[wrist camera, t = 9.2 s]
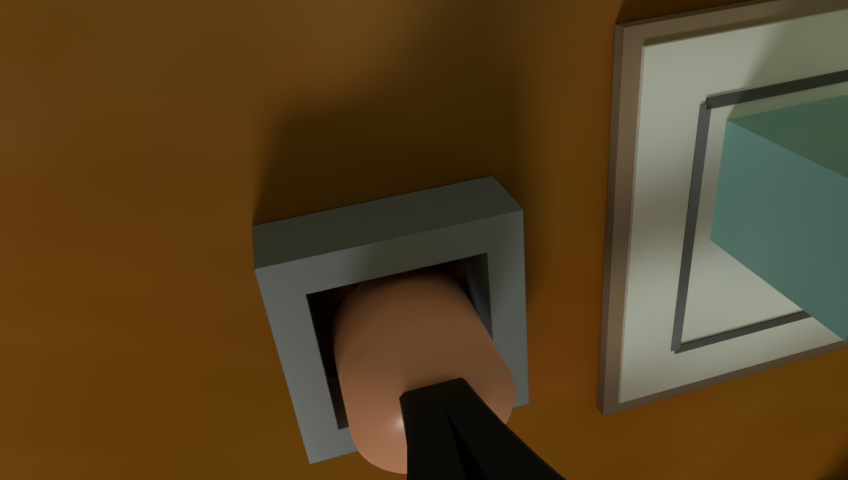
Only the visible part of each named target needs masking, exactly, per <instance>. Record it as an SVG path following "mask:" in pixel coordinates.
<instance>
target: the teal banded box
mask: <svg viewBox="0 0 848 480" xmlns="http://www.w3.org/2000/svg"><path fill="white" fill-rule="evenodd" d="M710 240H711V241H712V242H713V243H715V244H716V245H717V246H719V247H720V248H721V249H723V250H724V251H725V252H727V253H728V254H729V255H731V256H732V257H733V258H735V259H736V260H737V261H739V262H740V263H741V264H743V265H744V266H745V267H747V268H748V269H749V270H751V271H752V272H753V273H755V274H756V275H757V276H759V277H760V278H761V279H763V280H764V281H765V282H767V283H768V284H769V285H771V286H772V287H773V288H775V289H776V290H777V291H779V292H780V293H781V294H783V295H784V296H785V297H787V298H788V299H789V300H791V301H792V302H793V303H795V304H796V305H797V306H799V307H800V308H801V309H803V310H804V311H805V312H807V313H808V314H809V315H811V316H812V317H813V318H815V319H816V320H817V321H819V322H820V323H821V324H823V325H824V326H825V327H827V328H828V329H829V330H831V331H832V332H833V333H835V334H836V335H837V336H839V337H840V338H841V339H843V340H844V341H845V342H847V343H848V95H842V96H837V97H832V98H828V99H823V100H818V101H813V102H809V103H804V104H799V105H794V106H790V107H785V108H780V109H776V110H771V111H766V112H761V113H757V114H752V115H747V116H742V117H738V118H733V119H728V120H726V126H725V134H724V141H723V148H722V155H721V162H720V169H719V176H718V183H717V191H716V198H715V205H714V212H713V219H712V226H711V233H710Z"/></svg>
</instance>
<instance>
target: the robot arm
mask: <svg viewBox="0 0 848 480" xmlns="http://www.w3.org/2000/svg"><path fill="white" fill-rule="evenodd" d="M399 401H400V407H401V413H402V419H403V424H404V430H405V436H406V442H407V480H566V479H565V478H563V477H562V476H561V475H560V474H559V473H558V472H556V471H555V470H554V469H553V468H552V467H550V466H549V465H548V464H547V463H546V462H545V461H544V460H542V459H541V458H540V457H539V456H538V455H537V454H536V453H535V452H533V451H532V450H531V449H530V448H529V447H528V446H527V445H526V444H525V443H524V442H523V441H522V440H521V439H520V438H519V437H518V436H517V435H516V434H515V433H514V432H512V431H511V430H510V429H509V428H508V427H507V426H506V425H505V423H504V422H503V421H502V420H501V419H500V418H499V417H498V416H497V415H496V414H495V413H494V412H493V411H492V410H491V409H490V408H489V407H488V405H487V404H486V403H485V402H484V401H483V400H482V399H481V398H480V396H479V395H478V394H477V393H476V392H475V390H474V389H473V388H472V387H471V386H470V384H469V383H468V382H467V380H465V379H463V378H462V377H460V378H456V379H452V380H448V381H445V382H441V383H437V384H433V385H429V386H426V387H422V388H418V389H414V390H410V391H407V392H404V393H403V394H402V395H401V396H400V397H399Z"/></svg>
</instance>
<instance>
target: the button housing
mask: <svg viewBox="0 0 848 480" xmlns="http://www.w3.org/2000/svg"><path fill="white" fill-rule="evenodd" d="M252 236H253V255H254V270H255V274H256V277H257V281H258V284H259V288H260V291H261V295H262V298H263V302H264V305H265V309H266V312H267V316H268V319H269V323H270V326H271V330H272V333H273V337H274V340H275V344H276V347H277V351H278V354H279V357H280V361H281V364H282V368H283V371H284V375H285V378H286V382H287V385H288V389H289V392H290V396H291V399H292V403H293V406H294V410H295V413H296V417H297V420H298V424H299V427H300V431H301V434H302V438H303V441H304V445H305V448H306V452H307V455H308V459H309V462H310V464H311V463H315V462H319V461H322V460H326V459H330V458H333V457H337V456H340V455H344V454H348V453H351V452H355V451H358V450H357V448H356V446H355V445H354V443H353V440H352V437H351V433H350V429H349V424H348V419H347V414H346V410H345V405H344V400H343V396H342V391H341V386H340V382H339V377H338V376H334V377H330V378H328V374H327V370H326V365H325V361H324V357H323V353H322V349H321V345H320V340H319V336H318V332H317V328H316V324H315V320H314V316H313V311H312V307H311V303H310V299H309V295H308V294H310V293H314V292H319V291H323V290H327V289H332V288H336V287H340V286H345V285H349V284H353V283H358V282H362V281H366V280H371V279H375V278H379V277H384V276H388V275H392V274H397V273H401V272H405V271H410V270H414V269H418V268H423V267H427V266H431V265H435V264H440V263H444V262H448V261H453V260H457V259H461V258H465V266H466V277H467V289H468V298H469V300H470V301H471V303H472V305H473V307H474V309H475V310H476V312H477V314H478V316H479V317H480V319H481V321H482V323H483V324H484V326H485V328H486V330H487V332H488V333H489V335H490V337H491V339H492V340H493V342H494V344H495V346H496V347H497V349H498V351H499V353H500V354H501V356H502V358H503V360H504V362H505V363H506V365H507V367H508V369H509V371H510V372H511V374H512V377H513V380H514V385H515V401H514V406H513V408H515V407H518V406H522V405H526V404H529V400H528V364H527V329H526V293H525V258H524V223H523V209H522V208H521V207H520V206H519V205H518V204H517V202H516V201H515V200H514V199H513V198H512V197H511V196H510V194H509V193H508V192H507V191H506V190H505V189H504V188H503V187H502V185H501V184H500V183H499V182H498V181H497V180H496V179H495V178H494V176H488V177H483V178H478V179H474V180H469V181H464V182H459V183H455V184H450V185H445V186H440V187H436V188H431V189H426V190H421V191H416V192H412V193H407V194H402V195H397V196H393V197H388V198H383V199H378V200H374V201H369V202H364V203H359V204H355V205H350V206H345V207H340V208H336V209H331V210H326V211H321V212H316V213H312V214H307V215H302V216H297V217H293V218H288V219H283V220H278V221H274V222H269V223H264V224H259V225H255V226H252Z"/></svg>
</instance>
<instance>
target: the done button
mask: <svg viewBox="0 0 848 480" xmlns="http://www.w3.org/2000/svg"><path fill="white" fill-rule="evenodd" d="M331 343H332V349H333V353H334V358H335V363H336V367H337V372H338V377H339V382H340V386H341V391H342V396H343V400H344V405H345V410H346V414H347V419H348V424H349V429H350V433H351V437H352V440H353V443H354V445H355V446H356V448H357V450H358V451H359V452H360V454H361V455H362V456H363V457H364V458H365V459H366V460H368V461H369V462H370V463H372V464H374V465H375V466H377V467H379V468H382V469H384V470H387V471H391V472H395V473H402V474H407V442H406V436H405V430H404V424H403V419H402V413H401V407H400V401H399V397H400V396H401V395H402V394H403V393H404V392H407V391H410V390H414V389H418V388H422V387H426V386H429V385H433V384H437V383H441V382H445V381H448V380H452V379H456V378H460V377H462V378H463V379H465V380H467V382H468V383H469V384H470V386H471V387H472V388H473V389H474V390H475V392H476V393H477V394H478V395H479V396H480V398H481V399H482V400H483V401H484V402H485V403H486V404H487V405H488V407H489V408H490V409H491V410H492V411H493V412H494V413H495V414H496V415H497V416H498V417H499V418H500V419H501V420H502V421H503V422H504V423H505V424H506V423H507V421H508V419H509V417H510V415H511V412H512V409H513V406H514V401H515V385H514V380H513V377H512V374H511V372H510V371H509V369H508V367H507V365H506V363H505V362H504V360H503V358H502V356H501V354H500V353H499V351H498V349H497V347H496V346H495V344H494V342H493V340H492V339H491V337H490V335H489V333H488V332H487V330H486V328H485V326H484V324H483V323H482V321H481V319H480V317H479V316H478V314H477V312H476V310H475V309H474V307H473V305H472V303H471V301H470V300H469V298H468V296H467V294H466V293H465V291H464V289H463V288H462V287H461V286H460V284H459V283H458V282H456V281H455V280H454V279H453V278H451V277H450V276H449V275H447V274H445V273H443V272H441V271H438V270H435V269H432V268H427V267H423V268H418V269H414V270H410V271H405V272H401V273H397V274H392V275H388V276H384V277H379V278H375V279H371V280H366V281H363V282H362V283H361V284H359V285H358V286H357V287H355V288H354V289H353V290H352V291H351V292H350V293H349V294H348V295H347V296H346V298H345V299H344V300H343V302H342V303H341V304H340V306H339V308H338V310H337V312H336V314H335V316H334V319H333V322H332V327H331Z"/></svg>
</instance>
